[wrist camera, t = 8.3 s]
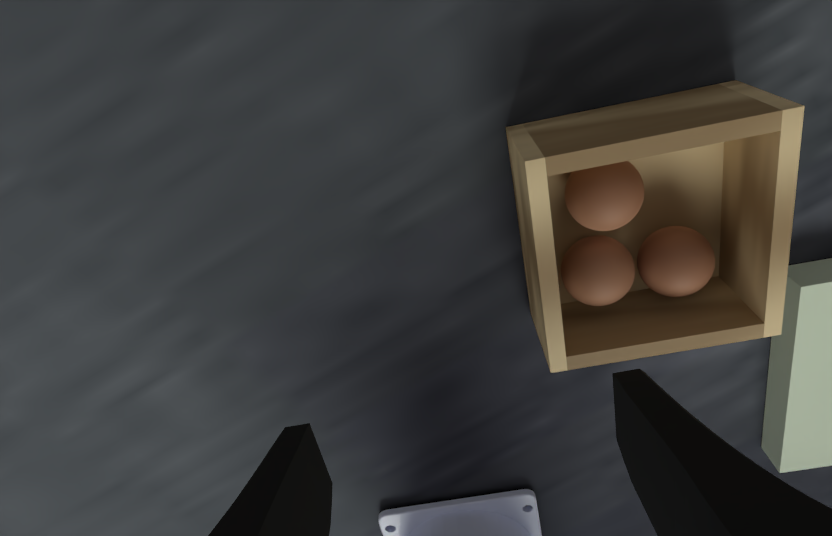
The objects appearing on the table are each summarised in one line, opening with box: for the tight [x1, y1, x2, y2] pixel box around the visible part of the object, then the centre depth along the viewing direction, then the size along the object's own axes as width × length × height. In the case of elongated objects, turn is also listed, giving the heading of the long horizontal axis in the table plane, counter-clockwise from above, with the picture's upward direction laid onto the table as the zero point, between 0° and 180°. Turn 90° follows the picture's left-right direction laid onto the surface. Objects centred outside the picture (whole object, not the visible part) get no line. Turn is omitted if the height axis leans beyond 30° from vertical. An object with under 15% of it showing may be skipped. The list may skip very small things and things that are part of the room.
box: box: [506, 80, 804, 373], centre depth 21 cm, size 8×8×4 cm
